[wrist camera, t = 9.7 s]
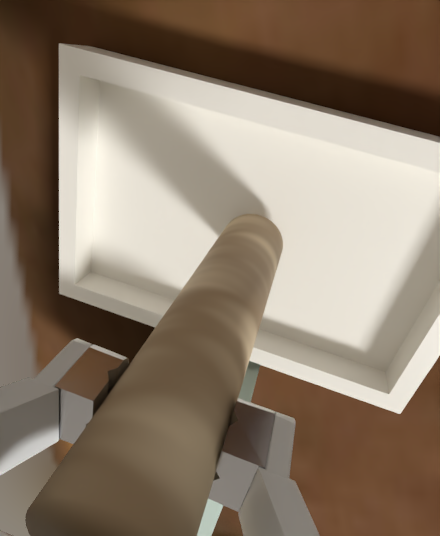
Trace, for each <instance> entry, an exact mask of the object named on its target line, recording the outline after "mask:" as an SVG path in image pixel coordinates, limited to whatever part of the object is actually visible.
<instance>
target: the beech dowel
mask: <svg viewBox="0 0 440 536" xmlns="http://www.w3.org/2000/svg"><path fill="white" fill-rule="evenodd" d="M282 250H283V239H282V236H281V233H280V231H279V229H278V228H277V226H276V225H275V224H274V223H273V222H272V221H270V220H269V219H267V218H265V217H263V216H261V215H257V214H244V215H240V216H238V217H236V218H234V219H233V220H231V221H230V222H229V223H228V225H227V226H226V227H225V229H224V230H223V232H222V233H221V235H220V236H219V237H218V239H217V240H216V242H215V243H214V245H213V246H212V247H211V249H210V250H209V252H208V253H207V255H206V256H205V257H204V259H203V260H202V262H201V263H200V265H199V266H198V267H197V269H196V270H195V272H194V273H193V275H192V276H191V277H190V279H189V280H188V282H187V283H186V285H185V286H184V287H183V289H182V290H181V292H180V293H179V295H178V296H177V297H176V299H175V300H174V302H173V303H172V305H171V306H170V307H169V309H168V310H167V312H166V313H165V314H164V316H163V317H162V319H161V320H160V322H159V323H158V324H157V326H156V327H155V329H154V330H153V332H152V333H151V334H150V336H149V337H148V339H147V340H146V342H145V343H144V344H143V346H142V347H141V349H140V350H139V352H138V353H137V354H136V356H135V357H134V359H133V360H132V362H131V363H130V364H129V366H128V367H127V369H126V370H125V372H124V373H123V374H122V376H121V377H120V379H119V380H118V382H117V383H116V384H115V386H114V387H113V389H112V390H111V392H110V393H109V394H108V396H107V397H106V399H105V400H104V402H103V403H102V404H101V406H100V407H99V409H98V410H97V412H96V413H95V414H94V416H93V417H92V419H91V420H90V422H89V423H88V424H87V426H86V427H85V429H84V430H83V432H82V433H81V434H80V436H79V437H78V439H77V440H76V442H75V443H74V444H73V446H72V447H71V449H70V450H69V452H68V453H67V454H66V456H65V457H64V459H63V460H62V462H61V463H60V464H59V466H58V467H57V469H56V470H55V472H54V473H53V474H52V476H51V477H50V479H49V480H48V482H47V483H46V485H45V486H44V487H43V489H42V490H41V492H40V493H39V494H38V496H37V497H36V499H35V500H34V502H33V503H32V504H31V506H30V507H29V509H28V510H27V513H26V526H27V529H28V532H29V534H30V536H197V533H198V530H199V527H200V523H201V520H202V517H203V513H204V510H205V507H206V503H207V500H208V497H209V493H210V490H211V487H212V483H213V480H214V477H215V473H216V466H217V462H218V459H219V456H220V452H221V449H222V446H223V442H224V439H225V437H226V434H227V431H228V426H229V422H230V419H231V416H232V413H233V410H234V406H235V404H236V401H237V398H238V397H239V393H240V390H241V387H242V383H243V380H244V377H245V373H246V370H247V367H248V363H249V360H250V357H251V353H252V350H253V347H254V343H255V340H256V337H257V333H258V330H259V327H260V323H261V320H262V317H263V313H264V310H265V307H266V303H267V300H268V297H269V293H270V290H271V287H272V283H273V280H274V277H275V273H276V270H277V267H278V263H279V260H280V257H281V253H282Z"/></svg>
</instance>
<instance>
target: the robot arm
mask: <svg viewBox="0 0 440 536" xmlns="http://www.w3.org/2000/svg"><path fill="white" fill-rule="evenodd" d="M128 366H129V359H128V358H127V357H124V356H122V355H119V354H117V353H114V352H112V351H109V350H107V349H104V348H102V347H99V346H97V345H93V344H91V343H88V342H86V341H83V340H81V339H78V338H76V339H74V340H72V341H71V342H70V343H69V344H68V345H67V346H66V347H65V348H64V349H63V350H62V351H61V352H60V353H59V354H58V355H57V356H56V357H55V358H54V359H53V360H52V361H51V362H50V363H49V364H48V365H47V366H46V367H45V368H44V369H43V370H42V371H41V372H40V373H39V374H38V375H37V376H36V377H35V378H34V379H32V378H30V377H28V378H25V379H22V380H19V381H16V382H13V383H11V384H8V385H5V386H2V387H0V475H1V474H3V473H5V472H7V471H8V470H10V469H12V468H13V467H15V466H17V465H19V464H20V463H22V462H24V461H25V460H27V459H29V458H30V457H32V456H34V455H35V454H37V453H39V452H41V451H42V450H44V449H46V448H47V447H49V446H51V445H52V444H54V443H56V442H58V441H59V439H61V440H64V441H67V442H69V443H72V444H74V443H75V442H76V440H77V439H78V437H79V436H80V434H81V433H82V432H83V430H84V429H85V427H86V426H87V424H88V423H89V422H90V420H91V419H92V417H93V416H94V414H95V413H96V412H97V410H98V409H99V407H100V406H101V404H102V403H103V402H104V400H105V399H106V397H107V396H108V394H109V393H110V392H111V390H112V389H113V387H114V386H115V384H116V383H117V382H118V380H119V379H120V377H121V376H122V374H123V373H124V372H125V370H126V369H127V367H128ZM295 423H296V422H295V419H294V418H292V417H289V416H286V415H283V414H281V413H278V412H274V411H273V410H270V409H267V408H264V407H262V406H259V405H256V404H253V403H250V402H248V401H245V400H242V399H239V398H237V401H236V404H235V406H234V410H233V413H232V416H231V419H230V422H229V426H228V431H227V434H226V437H225V439H224V442H223V446H222V449H221V452H220V456H219V459H218V462H217V466H216V473H215V477H214V480H213V483H212V487H211V490H210V493H209V497H208V499H210V500H213V501H215V502H217V503H219V504H222V505H224V506H226V507H229V508H231V509H233V510H235V511H238V512H239V519H240V523H241V527H242V531H243V535H244V536H320V535H319V533H318V531H317V529H316V526H315V524H314V522H313V520H312V517H311V515H310V513H309V511H308V509H307V506H306V504H305V502H304V500H303V497H302V495H301V493H300V491H299V489H298V486H297V484H296V482H295V481H293V480H291V479H289V476H290V467H291V458H292V449H293V440H294V431H295ZM0 536H12V535H10V534H8V533H6V532H3V531H1V530H0Z"/></svg>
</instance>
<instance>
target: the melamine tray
mask: <svg viewBox="0 0 440 536" xmlns="http://www.w3.org/2000/svg"><path fill="white" fill-rule="evenodd" d="M244 214H257V215H261V216H263V217H265V218H267V219H269V220H270V221H272V222H273V223H274V224H275V225H276V226H277V228H278V229H279V231H280V233H281V236H282V239H283V250H282V253H281V257H280V260H279V263H278V267H277V270H276V273H275V277H274V280H273V283H272V287H271V290H270V293H269V297H268V300H267V303H266V307H265V310H264V313H263V317H262V320H261V323H260V327H259V330H258V333H257V337H256V340H255V343H254V347H253V350H252V353H251V357H250V360H249V361H251V362H254V363H257V364H260V365H263V366H265V367H268V368H271V369H274V370H277V371H280V372H282V373H285V374H288V375H291V376H294V377H297V378H299V379H302V380H305V381H308V382H311V383H313V384H316V385H319V386H322V387H325V388H328V389H330V390H333V391H336V392H339V393H342V394H345V395H347V396H350V397H353V398H356V399H359V400H362V401H364V402H367V403H370V404H373V405H376V406H379V407H381V408H384V409H387V410H390V411H393V412H396V413H398V414H400V413H401V412H402V410H403V409H404V407H405V406H406V404H407V403H408V402H409V400H410V399H411V397H412V396H413V394H414V393H415V391H416V390H417V388H418V387H419V385H420V384H421V382H422V381H423V379H424V378H425V376H426V375H427V373H428V372H429V370H430V369H431V367H432V366H433V364H434V363H435V361H436V360H437V358H438V357H439V356H440V137H439V136H435V135H431V134H428V133H424V132H420V131H416V130H412V129H408V128H404V127H401V126H397V125H393V124H389V123H385V122H381V121H377V120H374V119H370V118H366V117H362V116H358V115H354V114H351V113H347V112H343V111H339V110H335V109H331V108H327V107H324V106H320V105H316V104H312V103H308V102H304V101H300V100H297V99H293V98H289V97H285V96H281V95H277V94H274V93H270V92H266V91H262V90H258V89H254V88H250V87H247V86H243V85H239V84H235V83H231V82H227V81H223V80H220V79H216V78H212V77H208V76H204V75H200V74H196V73H193V72H189V71H185V70H181V69H177V68H173V67H170V66H166V65H162V64H158V63H154V62H150V61H146V60H143V59H139V58H135V57H131V56H127V55H123V54H119V53H116V52H112V51H108V50H104V49H100V48H96V47H93V46H84V45H73V44H62V43H59V294H62V295H65V296H67V297H70V298H73V299H76V300H79V301H81V302H84V303H87V304H90V305H93V306H96V307H98V308H101V309H104V310H107V311H110V312H113V313H115V314H118V315H121V316H124V317H127V318H130V319H132V320H135V321H138V322H141V323H144V324H147V325H149V326H152V327H156V326H157V324H158V323H159V322H160V320H161V319H162V317H163V316H164V314H165V313H166V312H167V310H168V309H169V307H170V306H171V305H172V303H173V302H174V300H175V299H176V297H177V296H178V295H179V293H180V292H181V290H182V289H183V287H184V286H185V285H186V283H187V282H188V280H189V279H190V277H191V276H192V275H193V273H194V272H195V270H196V269H197V267H198V266H199V265H200V263H201V262H202V260H203V259H204V257H205V256H206V255H207V253H208V252H209V250H210V249H211V247H212V246H213V245H214V243H215V242H216V240H217V239H218V237H219V236H220V235H221V233H222V232H223V230H224V229H225V227H226V226H227V225H228V223H229V222H230V221H231V220H233V219H234V218H236V217H238V216H240V215H244Z"/></svg>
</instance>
